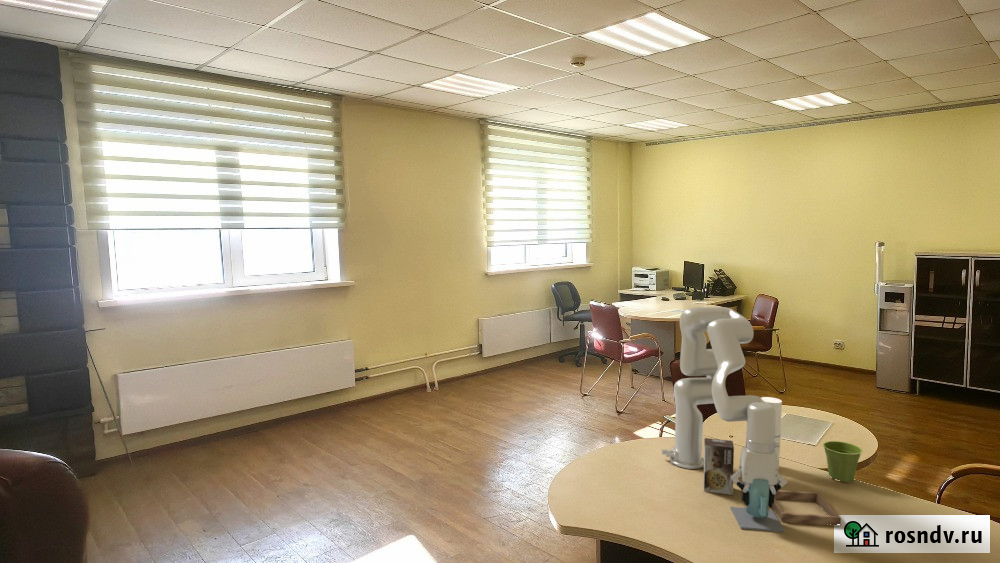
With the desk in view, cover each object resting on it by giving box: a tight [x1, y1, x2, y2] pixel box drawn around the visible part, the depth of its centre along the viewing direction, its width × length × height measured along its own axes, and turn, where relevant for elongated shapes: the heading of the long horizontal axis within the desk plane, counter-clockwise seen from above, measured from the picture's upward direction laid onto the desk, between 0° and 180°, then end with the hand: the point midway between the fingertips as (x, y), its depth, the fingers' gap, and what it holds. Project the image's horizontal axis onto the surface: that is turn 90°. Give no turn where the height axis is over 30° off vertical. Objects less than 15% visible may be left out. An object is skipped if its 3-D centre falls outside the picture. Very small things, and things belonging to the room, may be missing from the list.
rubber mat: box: [730, 506, 786, 533], centre depth 166 cm, size 12×12×1 cm
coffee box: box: [702, 437, 735, 496], centre depth 185 cm, size 9×6×16 cm
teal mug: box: [745, 479, 770, 518], centre depth 164 cm, size 9×6×11 cm, turn 171°
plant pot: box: [822, 440, 864, 483], centre depth 194 cm, size 12×12×11 cm
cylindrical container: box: [760, 396, 783, 470], centre depth 202 cm, size 7×7×25 cm
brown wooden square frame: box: [771, 489, 842, 526], centre depth 172 cm, size 16×16×2 cm
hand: (757, 503), depth 166 cm, fingers closed on teal mug, 6 cm apart
